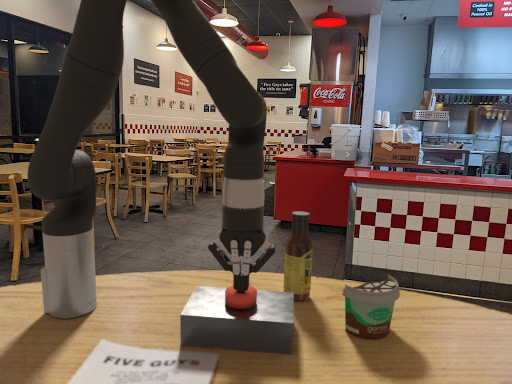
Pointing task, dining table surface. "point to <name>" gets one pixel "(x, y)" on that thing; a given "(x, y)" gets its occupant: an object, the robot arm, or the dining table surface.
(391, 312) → the food container
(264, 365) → the dining table surface
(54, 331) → the dining table surface
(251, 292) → the red button
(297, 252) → the sauce bottle
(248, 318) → the console
